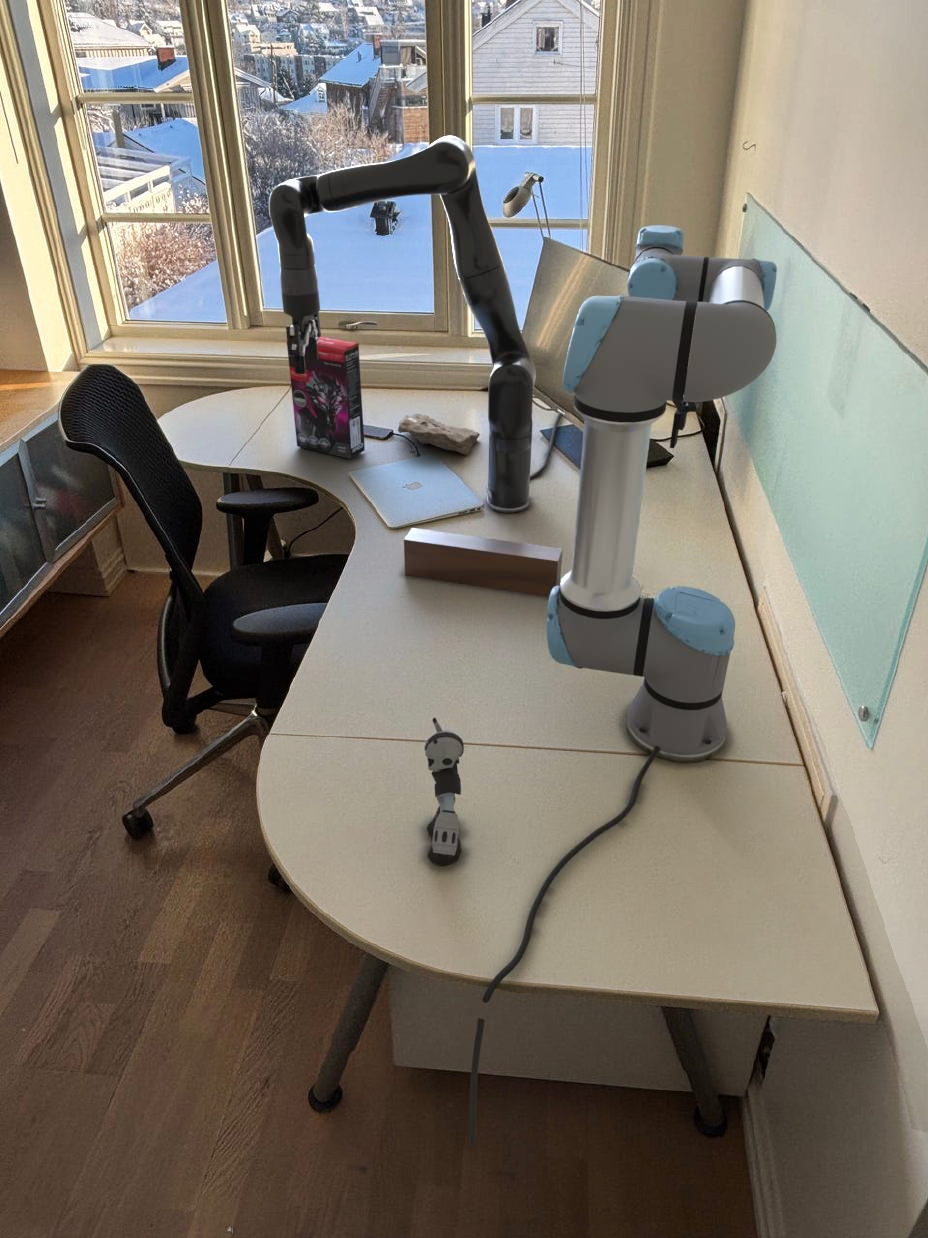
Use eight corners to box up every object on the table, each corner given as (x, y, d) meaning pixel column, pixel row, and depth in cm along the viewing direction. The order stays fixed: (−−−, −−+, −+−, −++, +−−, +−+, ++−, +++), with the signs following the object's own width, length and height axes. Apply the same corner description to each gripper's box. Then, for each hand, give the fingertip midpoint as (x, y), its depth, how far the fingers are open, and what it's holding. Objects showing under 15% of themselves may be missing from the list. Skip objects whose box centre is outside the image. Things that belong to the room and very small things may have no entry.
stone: (382, 437, 229) (387, 414, 227) (402, 429, 243) (406, 406, 240) (461, 462, 226) (467, 438, 223) (477, 452, 239) (482, 429, 237)
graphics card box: (294, 447, 232) (283, 339, 217) (310, 437, 237) (301, 331, 222) (351, 461, 225) (344, 350, 210) (367, 450, 230) (361, 342, 215)
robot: (466, 900, 116) (468, 784, 104) (427, 902, 115) (425, 785, 104) (459, 789, 132) (460, 678, 121) (425, 790, 132) (423, 679, 120)
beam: (555, 597, 175) (557, 561, 170) (404, 575, 181) (403, 539, 177) (559, 584, 179) (562, 548, 174) (412, 562, 185) (411, 527, 181)
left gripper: (306, 298, 181) (313, 379, 190) (327, 280, 193) (333, 357, 202) (269, 296, 182) (278, 376, 191) (293, 279, 194) (301, 355, 203)
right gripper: (727, 326, 157) (708, 442, 169) (586, 309, 165) (577, 421, 177) (720, 338, 151) (700, 458, 163) (574, 320, 159) (565, 436, 171)
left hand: (307, 366), depth 197 cm, fingers open, 8 cm apart
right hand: (636, 439), depth 170 cm, fingers open, 13 cm apart
